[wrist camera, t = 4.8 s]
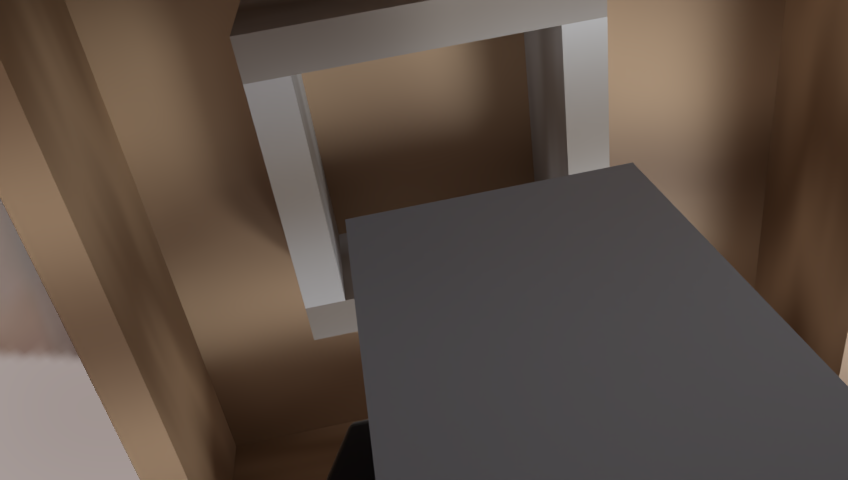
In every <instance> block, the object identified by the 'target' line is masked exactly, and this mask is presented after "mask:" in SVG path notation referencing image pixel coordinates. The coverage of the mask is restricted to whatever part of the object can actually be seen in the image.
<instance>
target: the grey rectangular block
mask: <svg viewBox="0 0 848 480" xmlns="http://www.w3.org/2000/svg"><path fill="white" fill-rule="evenodd" d="M345 223H346V232H347V240H348V249H349V258H350V266H351V275H352V283H353V292H354V300H355V309H356V317H357V326H358V335H359V343H360V352H361V360H362V369H363V377H364V386H365V394H366V403H367V411H368V420H369V429H370V437H371V446H372V454H373V463H374V471H375V480H848V386H847V385H846V384H845V383H844V382H843V381H842V380H841V379H840V378H839V376H838V375H837V374H836V373H835V372H834V371H833V370H832V369H831V368H830V367H829V366H828V365H827V364H826V363H825V362H824V361H823V360H822V359H821V358H820V357H819V356H818V355H817V354H816V353H815V352H814V350H813V349H812V348H811V347H810V346H809V345H808V344H807V343H806V342H805V341H804V340H803V339H802V338H801V337H800V336H799V335H798V334H797V333H796V332H795V331H794V330H793V329H792V328H791V327H790V326H789V324H788V323H787V322H786V321H785V320H784V319H783V318H782V317H781V316H780V315H779V314H778V313H777V312H776V311H775V310H774V309H773V308H772V307H771V306H770V305H769V304H768V303H767V302H766V301H765V300H764V298H763V297H762V296H761V295H760V294H759V293H758V292H757V291H756V290H755V289H754V288H753V287H752V286H751V285H750V284H749V283H748V282H747V281H746V280H745V279H744V278H743V277H742V276H741V275H740V274H739V273H738V271H737V270H736V269H735V268H734V267H733V266H732V265H731V264H730V263H729V262H728V261H727V260H726V259H725V258H724V257H723V256H722V255H721V254H720V253H719V252H718V251H717V250H716V249H715V248H714V247H713V245H712V244H711V243H710V242H709V241H708V240H707V239H706V238H705V237H704V236H703V235H702V234H701V233H700V232H699V231H698V230H697V229H696V228H695V227H694V226H693V225H692V224H691V223H690V222H689V221H688V219H687V218H686V217H685V216H684V215H683V214H682V213H681V212H680V211H679V210H678V209H677V208H676V207H675V206H674V205H673V204H672V203H671V202H670V201H669V200H668V199H667V198H666V197H665V196H664V195H663V193H662V192H661V191H660V190H659V189H658V188H657V187H656V186H655V185H654V184H653V183H652V182H651V181H650V180H649V179H648V178H647V177H646V176H645V175H644V174H643V173H642V172H641V171H640V170H639V169H638V168H637V166H636V165H635V164H634V163H628V164H622V165H617V166H612V167H607V168H602V169H597V170H592V171H587V172H582V173H577V174H572V175H567V176H562V177H557V178H552V179H547V180H542V181H537V182H532V183H527V184H522V185H516V186H511V187H506V188H501V189H496V190H491V191H486V192H481V193H476V194H471V195H466V196H461V197H456V198H451V199H446V200H441V201H436V202H431V203H426V204H421V205H416V206H410V207H405V208H400V209H395V210H390V211H385V212H380V213H375V214H370V215H365V216H360V217H355V218H350V219H345Z"/></svg>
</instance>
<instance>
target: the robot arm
mask: <svg viewBox="0 0 848 480" xmlns="http://www.w3.org/2000/svg"><path fill="white" fill-rule="evenodd" d="M326 480H375V471H374V463H373V454H372V446H371V437H370V429H369V420H368V419H367V420H362V421H357V422H354V423H352V424H351V425H350V426H349V427H348V429H347V432H346V434H345V436H344V439H343V441H342V444H341V446H340V448H339V451H338V453H337V455H336V458H335V460H334V463H333V465H332V467H331V470H330V472H329V474H328V477H327V479H326Z"/></svg>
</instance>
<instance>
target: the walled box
mask: <svg viewBox="0 0 848 480" xmlns="http://www.w3.org/2000/svg"><path fill="white" fill-rule="evenodd" d="M628 163H634V164H635V165H636V166H637V168H638V169H639V170H640V171H641V172H642V173H643V174H644V175H645V176H646V177H647V178H648V179H649V180H650V181H651V182H652V183H653V184H654V185H655V186H656V187H657V188H658V189H659V190H660V191H661V192H662V193H663V195H664V196H665V197H666V198H667V199H668V200H669V201H670V202H671V203H672V204H673V205H674V206H675V207H676V208H677V209H678V210H679V211H680V212H681V213H682V214H683V215H684V216H685V217H686V218H687V219H688V221H689V222H690V223H691V224H692V225H693V226H694V227H695V228H696V229H697V230H698V231H699V232H700V233H701V234H702V235H703V236H704V237H705V238H706V239H707V240H708V241H709V242H710V243H711V244H712V245H713V247H714V248H715V249H716V250H717V251H718V252H719V253H720V254H721V255H722V256H723V257H724V258H725V259H726V260H727V261H728V262H729V263H730V264H731V265H732V266H733V267H734V268H735V269H736V270H737V271H738V273H739V274H740V275H741V276H742V277H743V278H744V279H745V280H746V281H747V282H748V283H749V284H750V285H751V286H752V287H753V288H754V289H755V290H756V291H757V292H758V293H759V294H760V295H761V296H762V297H763V298H764V300H765V301H766V302H767V303H768V304H769V305H770V306H771V307H772V308H773V309H774V310H775V311H776V312H777V313H778V314H779V315H780V316H781V317H782V318H783V319H784V320H785V321H786V322H787V323H788V324H789V326H790V327H791V328H792V329H793V330H794V331H795V332H796V333H797V334H798V335H799V336H800V337H801V338H802V339H803V340H804V341H805V342H806V343H807V344H808V345H809V346H810V347H811V348H812V349H813V350H814V352H815V353H816V354H817V355H818V356H819V357H820V358H821V359H822V360H823V361H824V362H825V363H826V364H827V365H828V366H829V367H830V368H831V369H832V370H833V371H834V372H835V373H836V374H837V375H838V376H839V378H840V379H841V380H842V381H843V382H844V383H845V384H846V385H847V386H848V0H0V198H1V200H2V202H3V204H4V206H5V208H6V210H7V212H8V214H9V216H10V218H11V220H12V222H13V224H14V226H15V228H16V230H17V233H18V235H19V237H20V239H21V241H22V243H23V245H24V247H25V249H26V251H27V253H28V255H29V257H30V259H31V261H32V263H33V265H34V267H35V269H36V271H37V273H38V275H39V277H40V279H41V281H42V283H43V285H44V287H45V289H46V291H47V293H48V295H49V297H50V299H51V301H52V303H53V305H54V307H55V309H56V311H57V313H58V315H59V317H60V319H61V321H62V323H63V325H64V327H65V329H66V331H67V333H68V335H69V337H70V339H71V341H72V343H73V346H74V348H75V350H76V352H77V354H78V356H79V358H80V360H81V362H82V364H83V366H84V368H85V370H86V372H87V374H88V376H89V378H90V380H91V382H92V384H93V386H94V388H95V390H96V392H97V394H98V396H99V398H100V400H101V402H102V404H103V406H104V408H105V410H106V412H107V414H108V416H109V418H110V420H111V422H112V424H113V426H114V428H115V430H116V432H117V434H118V436H119V438H120V440H121V442H122V444H123V446H124V448H125V450H126V452H127V454H128V456H129V458H130V460H131V462H132V465H133V467H134V469H135V471H136V473H137V475H138V476H139V478H140V480H326V479H327V477H328V474H329V472H330V470H331V467H332V465H333V463H334V460H335V458H336V455H337V453H338V451H339V448H340V446H341V444H342V441H343V439H344V436H345V434H346V432H347V429H348V427H349V426H350V425H351V424H352V423H354V422H357V421H362V420H367V419H368V411H367V403H366V394H365V386H364V377H363V369H362V360H361V352H360V343H359V335H358V326H357V317H356V309H355V300H354V292H353V283H352V275H351V266H350V258H349V249H348V240H347V232H346V223H345V219H350V218H355V217H360V216H365V215H370V214H375V213H380V212H385V211H390V210H395V209H400V208H405V207H410V206H416V205H421V204H426V203H431V202H436V201H441V200H446V199H451V198H456V197H461V196H466V195H471V194H476V193H481V192H486V191H491V190H496V189H501V188H506V187H511V186H516V185H522V184H527V183H532V182H537V181H542V180H547V179H552V178H557V177H562V176H567V175H572V174H577V173H582V172H587V171H592V170H597V169H602V168H607V167H612V166H617V165H622V164H628Z"/></svg>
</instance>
